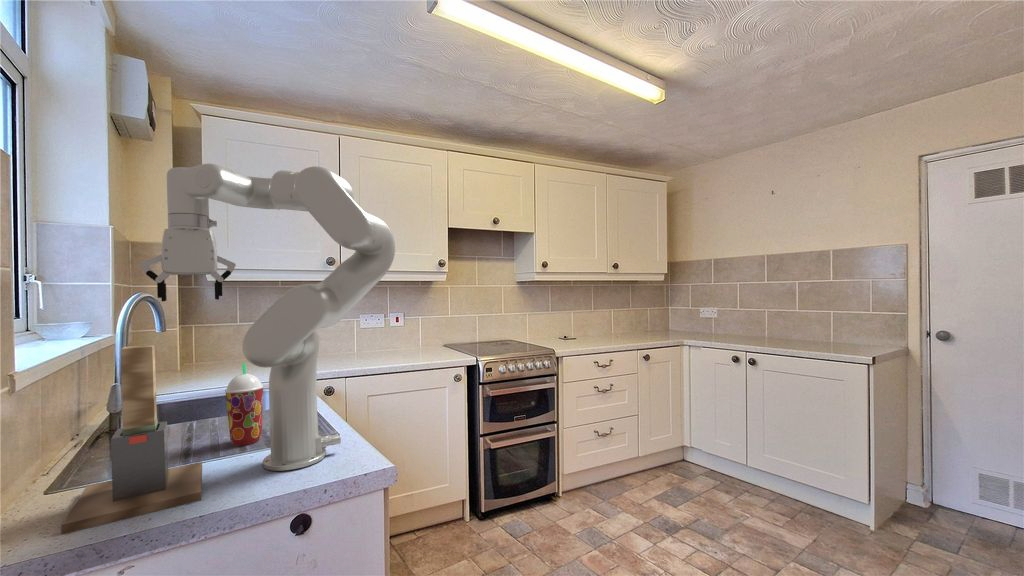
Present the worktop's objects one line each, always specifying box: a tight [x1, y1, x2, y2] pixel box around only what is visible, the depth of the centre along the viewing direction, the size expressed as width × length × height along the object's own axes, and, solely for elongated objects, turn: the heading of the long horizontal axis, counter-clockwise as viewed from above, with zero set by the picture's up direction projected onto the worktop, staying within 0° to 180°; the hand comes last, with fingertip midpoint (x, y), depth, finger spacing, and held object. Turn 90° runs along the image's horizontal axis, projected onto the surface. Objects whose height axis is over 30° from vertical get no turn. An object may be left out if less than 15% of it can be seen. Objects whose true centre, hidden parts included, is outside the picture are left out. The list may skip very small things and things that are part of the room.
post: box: [120, 344, 159, 436], centre depth 82 cm, size 5×5×18 cm
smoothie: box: [224, 362, 264, 447], centre depth 111 cm, size 8×8×20 cm
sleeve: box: [110, 420, 169, 502], centre depth 82 cm, size 7×8×11 cm
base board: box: [60, 461, 203, 535], centre depth 82 cm, size 18×18×2 cm
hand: (191, 300), depth 98 cm, fingers open, 9 cm apart
